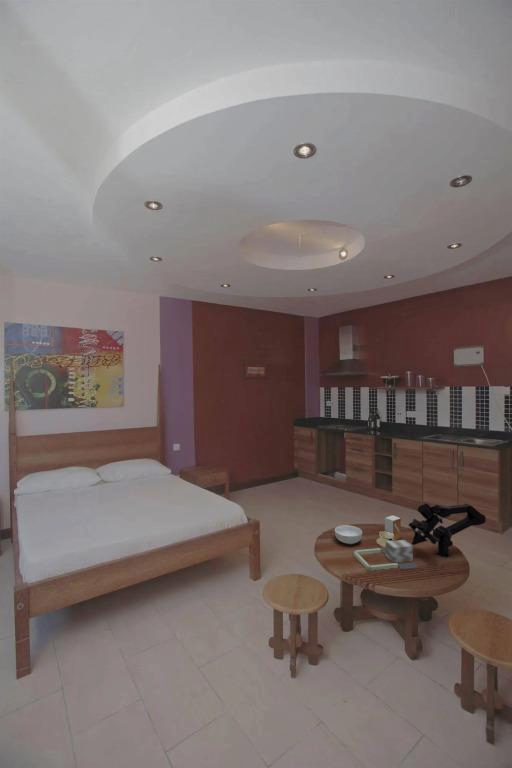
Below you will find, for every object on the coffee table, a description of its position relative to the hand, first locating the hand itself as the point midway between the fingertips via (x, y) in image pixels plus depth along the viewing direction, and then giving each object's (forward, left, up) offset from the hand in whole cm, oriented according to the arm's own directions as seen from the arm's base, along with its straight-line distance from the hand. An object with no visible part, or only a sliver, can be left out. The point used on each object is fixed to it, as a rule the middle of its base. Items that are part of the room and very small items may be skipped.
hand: (412, 544), depth 204 cm
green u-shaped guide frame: (+15, -10, -7) cm, 20 cm away
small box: (-16, -19, -7) cm, 26 cm away
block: (+7, -5, -7) cm, 11 cm away
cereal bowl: (+8, -37, -7) cm, 38 cm away
